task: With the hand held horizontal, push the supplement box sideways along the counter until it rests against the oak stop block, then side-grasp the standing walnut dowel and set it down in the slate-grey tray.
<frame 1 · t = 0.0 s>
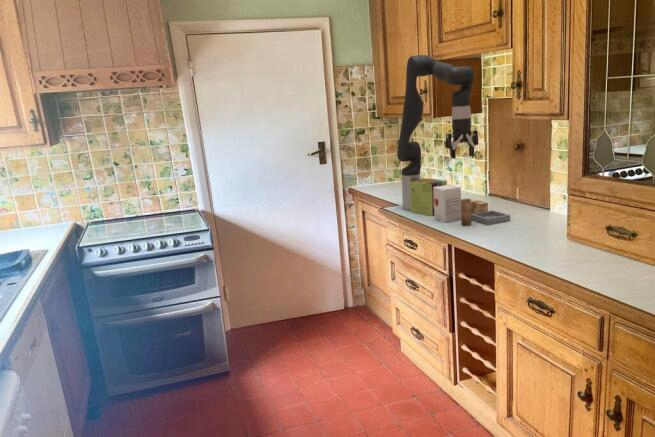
hand: (462, 157, 214), 29 cm above the countertop, tool pointing down, fingers open, 8 cm apart
dowel: (466, 224, 223), on the countertop
stop block: (477, 214, 239), on the countertop
supplement box: (447, 219, 234), on the countertop
tray: (489, 220, 226), on the countertop
protein box: (429, 212, 251), on the countertop
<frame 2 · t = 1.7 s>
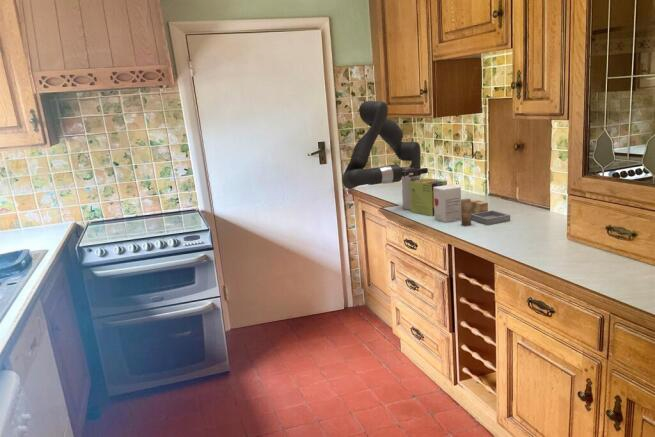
hand: (422, 169, 225), 24 cm above the countertop, tool horizontal, fingers open, 6 cm apart
nothing on the countertop moved.
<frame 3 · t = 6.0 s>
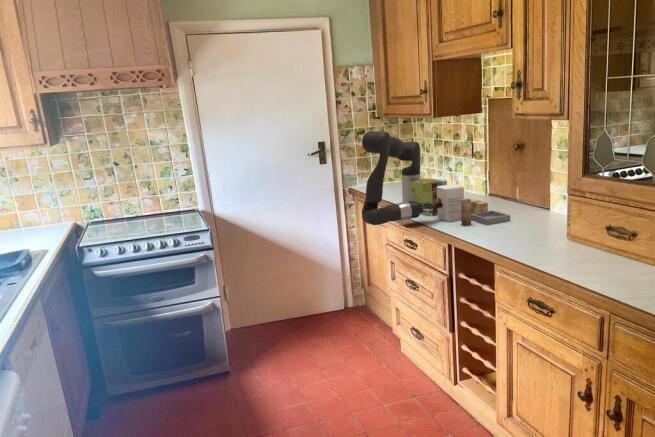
hand: (441, 204, 232), 7 cm above the countertop, tool horizontal, fingers closed
supplement box: (450, 219, 235), on the countertop, touching gripper
everything else where it was.
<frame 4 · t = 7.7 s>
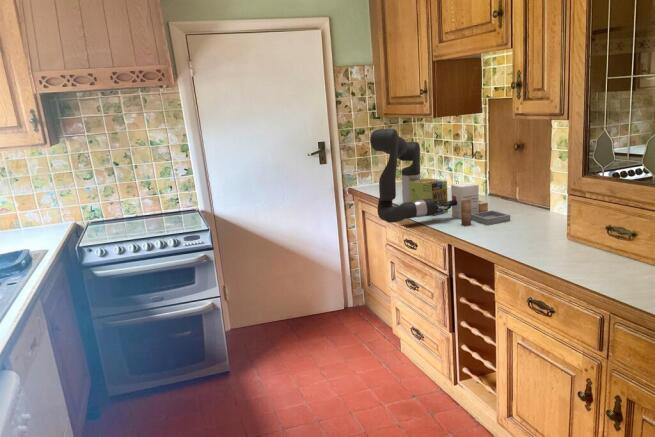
hand: (456, 202, 234), 7 cm above the countertop, tool horizontal, fingers closed
supplement box: (465, 216, 237), on the countertop, touching gripper, stop block
everything else where it was.
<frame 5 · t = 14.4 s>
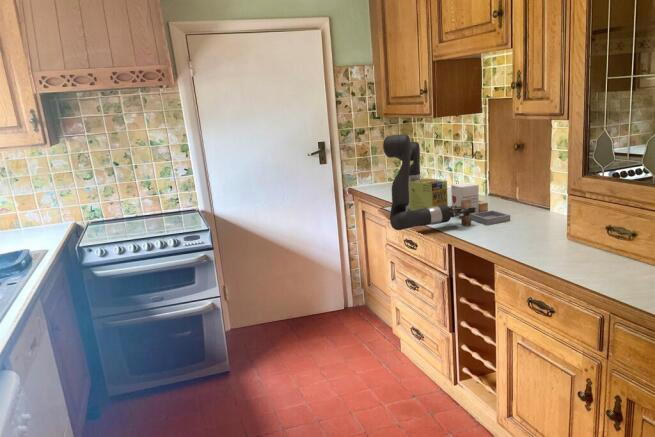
hand: (471, 208, 222), 7 cm above the countertop, tool horizontal, fingers closed on dowel, 4 cm apart
dowel: (466, 224, 223), on the countertop, touching gripper
supplement box: (465, 217, 237), on the countertop
everything else where it was.
when the fingers open (8 cm above the countertop, at t = 18.8 s): dowel drops 1 cm, resting on tray.
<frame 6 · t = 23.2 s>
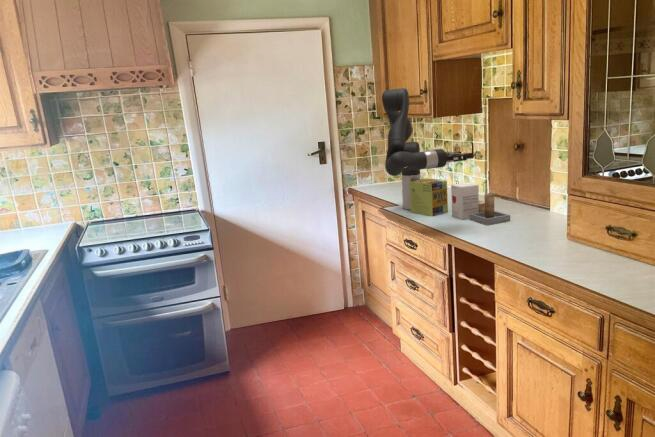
hand: (466, 154, 216), 30 cm above the countertop, tool horizontal, fingers open, 8 cm apart
dowel: (489, 219, 226), point 1 cm above the countertop, touching tray
everything else where it was.
at the end: supplement box inside the target area (0.5 cm from its centre), on the countertop; supplement box tilted 0°; dowel inside the target area on the tray (0.1 cm from its centre), point 0.6 cm above the tray's base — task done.
